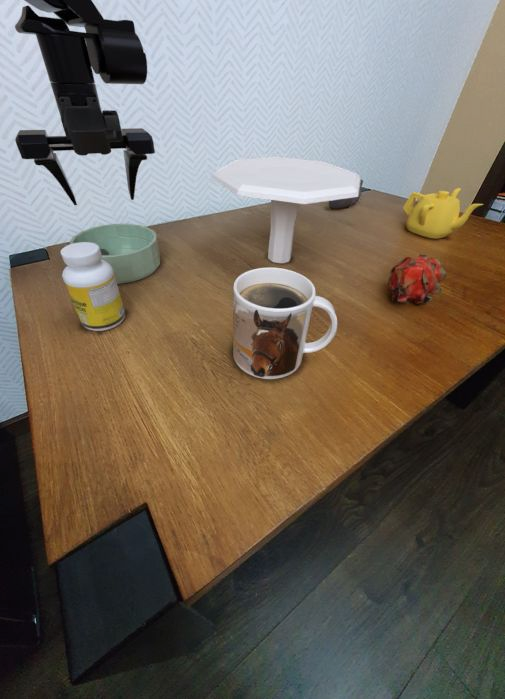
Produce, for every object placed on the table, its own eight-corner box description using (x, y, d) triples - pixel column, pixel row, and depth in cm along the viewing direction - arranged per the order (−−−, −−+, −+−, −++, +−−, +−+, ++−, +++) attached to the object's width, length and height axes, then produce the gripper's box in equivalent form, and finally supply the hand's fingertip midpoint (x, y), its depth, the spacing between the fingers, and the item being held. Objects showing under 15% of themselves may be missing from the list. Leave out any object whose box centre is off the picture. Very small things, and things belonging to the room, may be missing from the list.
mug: (265, 322, 49) (271, 258, 42) (331, 358, 44) (351, 291, 36) (218, 355, 43) (215, 286, 36) (287, 401, 38) (300, 331, 30)
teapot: (464, 244, 77) (486, 202, 70) (409, 239, 77) (426, 197, 71) (443, 224, 87) (461, 185, 80) (395, 220, 88) (409, 181, 81)
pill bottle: (82, 312, 49) (54, 241, 42) (125, 305, 51) (105, 236, 44) (81, 336, 45) (49, 263, 37) (127, 328, 47) (106, 256, 39)
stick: (115, 266, 57) (111, 276, 58) (109, 249, 62) (106, 258, 63) (103, 263, 56) (100, 272, 56) (99, 245, 61) (96, 254, 62)
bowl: (82, 292, 54) (71, 262, 50) (77, 255, 64) (67, 229, 60) (169, 276, 59) (164, 248, 55) (151, 245, 69) (147, 220, 65)
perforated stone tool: (334, 213, 90) (339, 187, 85) (320, 208, 93) (324, 183, 88) (363, 204, 97) (369, 180, 93) (349, 200, 100) (354, 176, 96)
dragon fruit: (424, 295, 61) (389, 324, 56) (400, 259, 61) (362, 286, 56) (466, 275, 53) (429, 308, 48) (438, 235, 53) (398, 263, 48)
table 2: (366, 257, 69) (392, 173, 58) (298, 310, 52) (315, 207, 41) (267, 224, 81) (272, 150, 70) (186, 258, 65) (177, 169, 54)
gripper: (-15, 83, 34) (43, 225, 45) (153, 88, 41) (170, 211, 51) (-4, 79, 42) (44, 201, 52) (137, 84, 48) (154, 192, 59)
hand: (104, 201), depth 53 cm, fingers open, 9 cm apart
